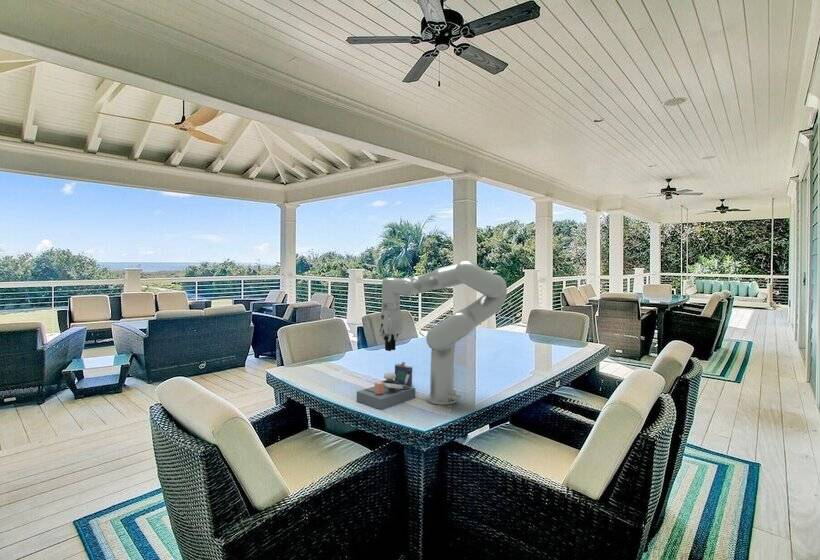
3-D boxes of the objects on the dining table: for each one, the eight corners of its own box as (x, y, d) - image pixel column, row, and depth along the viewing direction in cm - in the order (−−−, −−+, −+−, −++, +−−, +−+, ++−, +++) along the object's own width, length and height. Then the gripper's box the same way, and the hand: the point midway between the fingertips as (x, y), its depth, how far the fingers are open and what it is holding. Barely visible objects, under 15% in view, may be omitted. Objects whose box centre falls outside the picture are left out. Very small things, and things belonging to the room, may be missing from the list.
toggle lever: (408, 387, 173) (413, 370, 175) (404, 386, 172) (410, 368, 174) (404, 386, 175) (409, 369, 177) (400, 385, 173) (406, 367, 175)
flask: (413, 385, 192) (413, 362, 191) (409, 387, 189) (410, 363, 189) (396, 382, 196) (396, 360, 196) (392, 384, 194) (392, 361, 194)
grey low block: (415, 397, 175) (415, 384, 175) (381, 409, 160) (381, 395, 160) (390, 390, 184) (391, 377, 184) (356, 401, 169) (356, 387, 169)
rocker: (402, 388, 171) (403, 386, 171) (389, 387, 165) (389, 384, 165) (395, 386, 174) (395, 384, 174) (382, 385, 168) (382, 382, 168)
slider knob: (384, 392, 166) (384, 382, 166) (378, 394, 164) (379, 383, 164) (380, 391, 168) (380, 381, 168) (374, 393, 166) (374, 382, 165)
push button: (398, 381, 178) (398, 374, 178) (389, 383, 175) (390, 376, 174) (389, 379, 182) (389, 372, 182) (381, 381, 178) (381, 374, 178)
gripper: (383, 308, 169) (383, 354, 169) (409, 306, 180) (409, 348, 181) (371, 307, 173) (370, 351, 174) (397, 305, 185) (396, 346, 186)
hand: (390, 349), depth 178 cm, fingers closed
